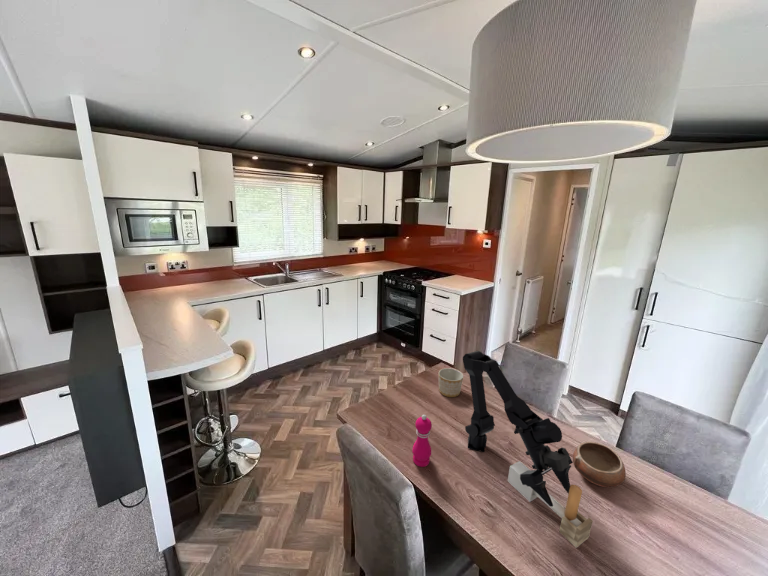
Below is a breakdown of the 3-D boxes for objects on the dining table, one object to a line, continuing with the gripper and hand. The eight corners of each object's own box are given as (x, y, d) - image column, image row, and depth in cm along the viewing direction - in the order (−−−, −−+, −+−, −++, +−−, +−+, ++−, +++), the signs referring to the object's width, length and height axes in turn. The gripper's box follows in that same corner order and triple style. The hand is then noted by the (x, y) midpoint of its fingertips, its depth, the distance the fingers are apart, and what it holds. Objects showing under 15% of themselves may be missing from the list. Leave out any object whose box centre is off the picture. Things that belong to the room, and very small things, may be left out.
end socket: (559, 531, 92) (562, 514, 90) (571, 522, 95) (575, 505, 93) (576, 548, 88) (580, 530, 86) (588, 537, 90) (592, 520, 89)
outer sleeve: (507, 481, 109) (509, 466, 107) (517, 475, 111) (519, 461, 109) (529, 502, 101) (532, 486, 99) (539, 495, 103) (542, 480, 102)
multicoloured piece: (527, 490, 103) (533, 459, 99) (533, 486, 104) (539, 456, 101) (575, 533, 89) (583, 499, 86) (581, 529, 90) (589, 495, 87)
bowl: (563, 472, 113) (567, 449, 111) (580, 453, 122) (585, 431, 120) (613, 504, 101) (619, 479, 99) (628, 480, 110) (634, 457, 108)
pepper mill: (430, 469, 113) (433, 423, 108) (410, 466, 114) (413, 420, 109) (431, 454, 120) (434, 410, 115) (412, 451, 121) (415, 407, 116)
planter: (436, 384, 168) (437, 367, 166) (459, 386, 167) (461, 368, 165) (438, 398, 156) (439, 379, 153) (463, 400, 155) (465, 381, 152)
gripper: (534, 453, 90) (563, 515, 83) (572, 433, 98) (601, 487, 92) (508, 456, 98) (533, 512, 92) (545, 437, 107) (570, 487, 100)
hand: (561, 499), depth 94 cm, fingers open, 9 cm apart
